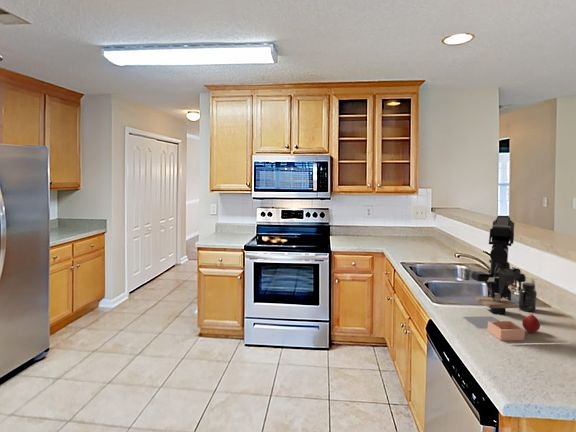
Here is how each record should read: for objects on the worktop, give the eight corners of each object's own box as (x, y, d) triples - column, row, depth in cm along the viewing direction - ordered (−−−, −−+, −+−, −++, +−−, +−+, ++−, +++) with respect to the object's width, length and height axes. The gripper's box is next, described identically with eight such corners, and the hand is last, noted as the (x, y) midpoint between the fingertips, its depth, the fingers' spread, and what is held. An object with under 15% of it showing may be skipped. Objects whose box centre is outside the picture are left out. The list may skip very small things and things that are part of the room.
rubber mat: (462, 318, 178) (462, 316, 178) (492, 317, 179) (492, 316, 178) (478, 329, 165) (478, 328, 165) (510, 329, 166) (510, 327, 166)
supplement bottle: (515, 306, 193) (517, 281, 192) (531, 307, 192) (533, 282, 191) (521, 311, 186) (523, 285, 185) (538, 312, 185) (540, 286, 184)
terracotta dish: (487, 332, 162) (487, 321, 161) (509, 332, 163) (510, 321, 162) (500, 342, 153) (501, 330, 153) (524, 341, 154) (524, 329, 153)
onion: (533, 330, 165) (534, 310, 164) (542, 336, 159) (544, 315, 158) (518, 330, 164) (520, 310, 164) (527, 336, 159) (529, 316, 158)
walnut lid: (475, 299, 168) (476, 290, 168) (502, 299, 169) (502, 290, 168) (489, 308, 157) (490, 298, 157) (518, 308, 158) (519, 298, 158)
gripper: (486, 262, 153) (483, 304, 154) (536, 263, 154) (532, 304, 155) (471, 256, 164) (469, 295, 165) (518, 257, 165) (515, 296, 166)
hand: (496, 298), depth 163 cm, fingers closed on walnut lid, 3 cm apart
